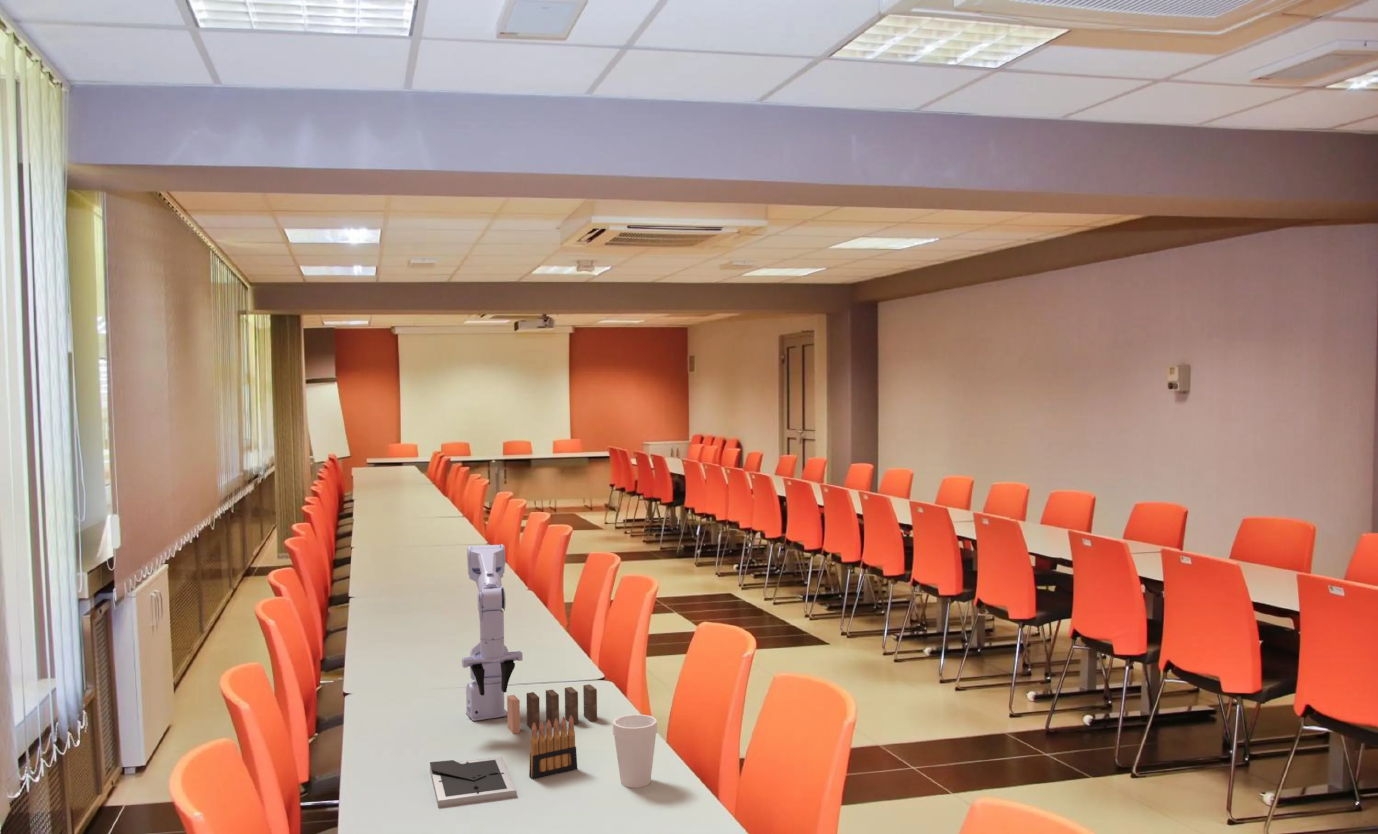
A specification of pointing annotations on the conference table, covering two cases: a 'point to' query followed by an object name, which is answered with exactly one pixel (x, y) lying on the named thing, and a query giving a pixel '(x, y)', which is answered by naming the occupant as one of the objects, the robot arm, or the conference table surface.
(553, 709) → the tile
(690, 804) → the conference table surface
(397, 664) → the conference table surface
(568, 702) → the tile
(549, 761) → the ammunition clip
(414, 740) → the conference table surface
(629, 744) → the foam cup
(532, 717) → the brown rectangular block
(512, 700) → the tile
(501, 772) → the picture frame
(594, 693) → the brown flat block
